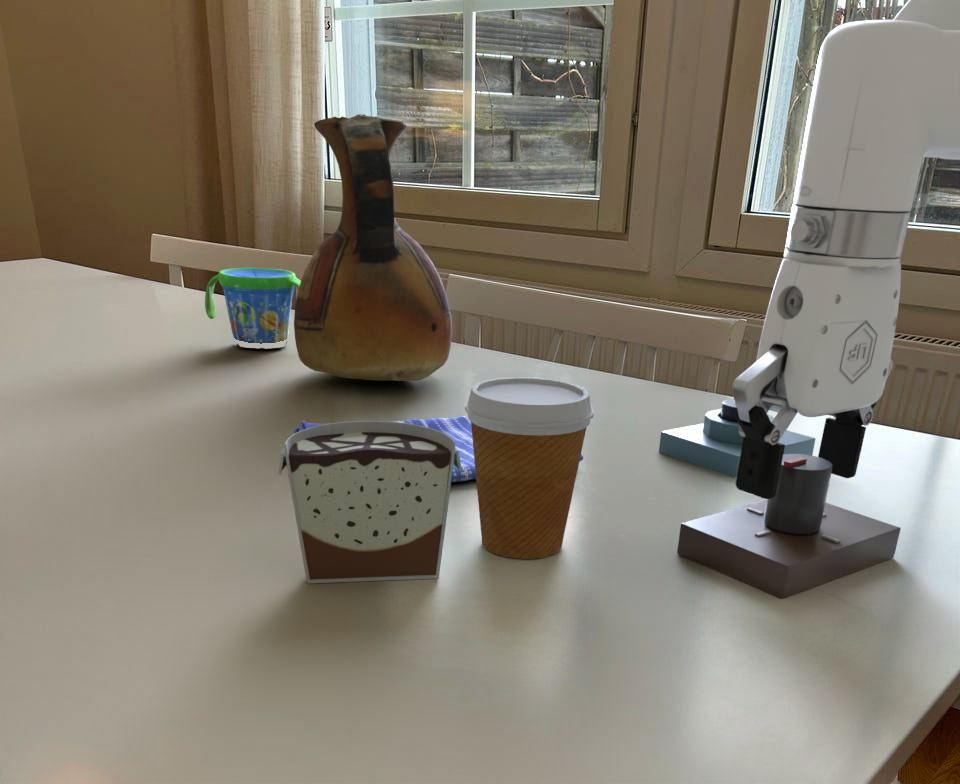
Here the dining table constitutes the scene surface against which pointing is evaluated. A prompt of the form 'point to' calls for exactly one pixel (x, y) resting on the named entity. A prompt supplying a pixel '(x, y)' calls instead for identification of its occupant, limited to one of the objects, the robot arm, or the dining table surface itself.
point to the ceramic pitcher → (370, 273)
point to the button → (728, 411)
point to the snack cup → (255, 302)
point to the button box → (721, 444)
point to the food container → (370, 499)
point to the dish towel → (452, 427)
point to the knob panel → (786, 547)
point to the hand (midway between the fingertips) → (796, 483)
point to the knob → (799, 495)
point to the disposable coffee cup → (526, 460)
